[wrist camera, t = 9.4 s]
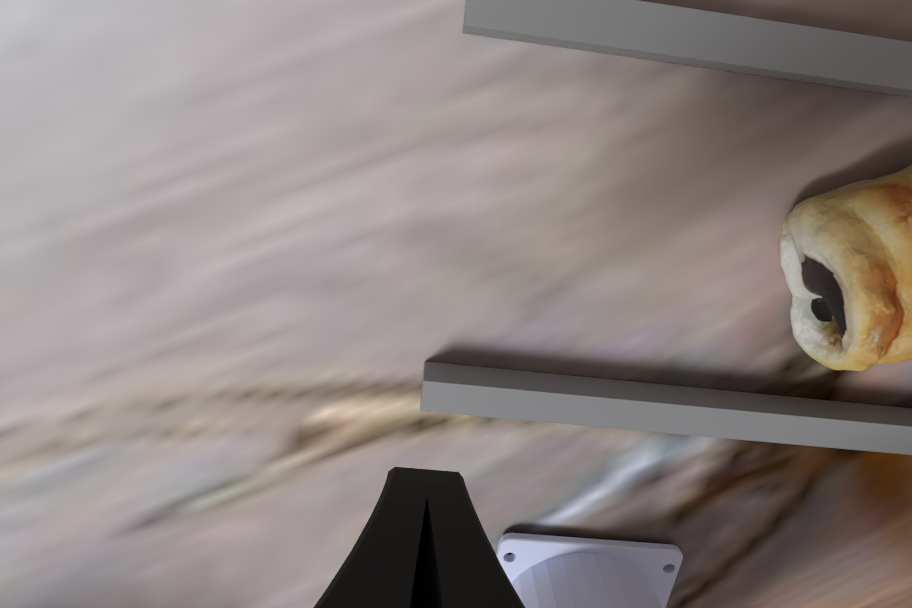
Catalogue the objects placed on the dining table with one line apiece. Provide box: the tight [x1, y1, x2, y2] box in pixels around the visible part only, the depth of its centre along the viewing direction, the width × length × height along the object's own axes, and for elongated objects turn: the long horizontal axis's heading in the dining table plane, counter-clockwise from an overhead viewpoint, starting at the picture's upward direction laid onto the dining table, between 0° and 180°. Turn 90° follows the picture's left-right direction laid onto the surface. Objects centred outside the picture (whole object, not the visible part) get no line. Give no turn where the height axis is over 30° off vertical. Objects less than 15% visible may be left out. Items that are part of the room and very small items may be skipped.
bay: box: [420, 0, 912, 455], centre depth 17 cm, size 13×23×3 cm, turn 83°
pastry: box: [779, 164, 912, 371], centre depth 17 cm, size 9×7×4 cm
